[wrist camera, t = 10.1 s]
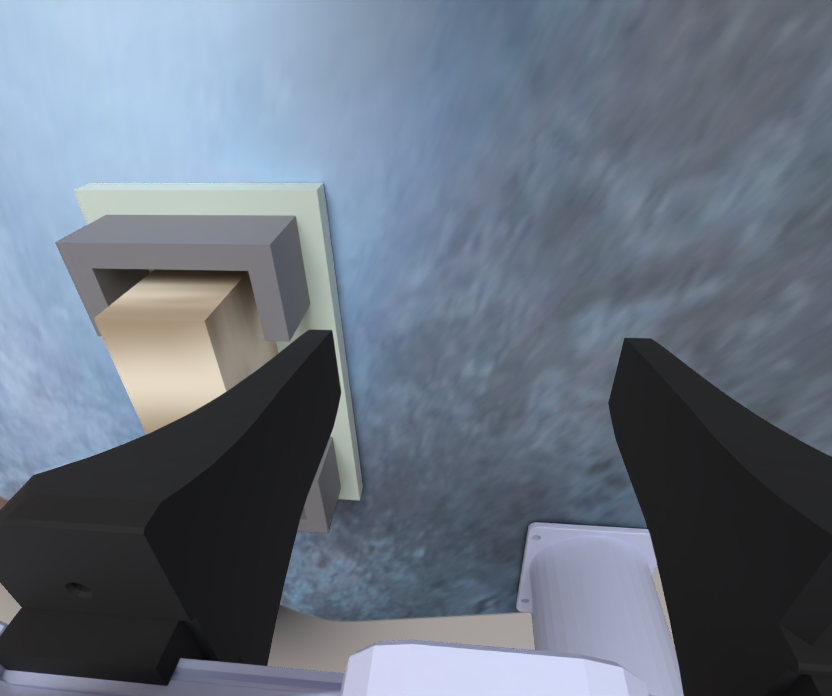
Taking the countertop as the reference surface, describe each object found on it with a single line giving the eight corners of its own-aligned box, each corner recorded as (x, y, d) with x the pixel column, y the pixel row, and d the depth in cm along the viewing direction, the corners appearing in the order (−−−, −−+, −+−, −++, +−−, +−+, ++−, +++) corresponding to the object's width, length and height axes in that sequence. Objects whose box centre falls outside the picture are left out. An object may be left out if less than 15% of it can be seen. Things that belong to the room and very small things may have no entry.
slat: (302, 460, 27) (272, 539, 23) (233, 457, 28) (191, 534, 24) (257, 260, 21) (204, 321, 17) (167, 259, 21) (93, 318, 17)
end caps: (362, 486, 30) (349, 545, 26) (204, 477, 31) (171, 533, 27) (323, 182, 20) (293, 216, 16) (89, 183, 21) (16, 215, 17)
